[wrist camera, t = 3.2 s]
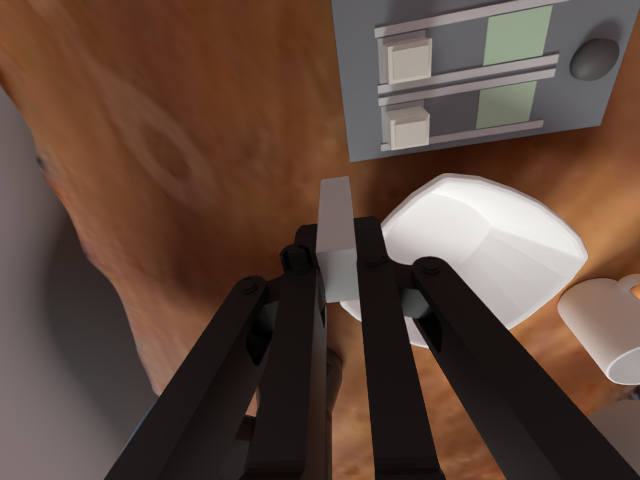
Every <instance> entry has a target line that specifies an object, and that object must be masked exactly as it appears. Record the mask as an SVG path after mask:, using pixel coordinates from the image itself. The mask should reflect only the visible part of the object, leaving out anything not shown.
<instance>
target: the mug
mask: <svg viewBox="0 0 640 480" xmlns="http://www.w3.org/2000/svg"><path fill="white" fill-rule="evenodd" d="M638 284H640V274H631V275H627V276H625V277H623V278H622V279H620V280H619V281H615V280H613V279H607V278H596V279H590V280H586V281H583V282H581V283H578V284H576V285H574V286H573V287H571V288H570V289H568V290H567V291H566V292H565V293H564V294H563V295H562V296H561V298H560V300H559V302H558V306H557V307H558V312H559V314H560V316H561V317H562V319H563V320H564V322H565V323H566V324H567V325H568V327H569V328H570V329H571V331H572V332H573V333H574V335H575V336H576V337H577V338H578V340H579V341H580V342H581V344H582V345H583V346H584V347H585V349H586V350H587V351H588V353H589V354H590V355H591V357H592V358H593V359H594V360H595V362H596V363H597V364H598V366H599V367H600V368H601V369H602V371H603V372H604V373H605V375H606V376H607V377H608V378H609V379H610V380H611V381H613V382H615V383H619V384H625V385H635V384H640V299H639V298H638V297H636V296H635V295H634V294H633V293H632V292H631V291H630V289H631V288H632V287H634V286H635V285H638Z"/></svg>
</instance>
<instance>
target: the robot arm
mask: <svg viewBox="0 0 640 480" xmlns="http://www.w3.org/2000/svg"><path fill="white" fill-rule="evenodd" d="M280 258H281V262H282V265H283V268H284V274H283V275H281V276H280V277H277V278H275V279H272V280H269V281H265V279H264V278H262V277H261V276H249V277H246V278H243V279H242V280H240V281H239V282H238V283H237V284H236V285H235V286H234V287H233V289H232V290H231V292H230V293H229V295H228V296H227V298H226V299H225V301H224V302H223V304H222V305H221V307H220V308H219V309H218V311H217V312H216V314H215V315H214V317H213V318H212V320H211V321H210V323H209V324H208V326H207V327H206V329H205V330H204V332H203V333H202V335H201V336H200V338H199V339H198V341H197V342H196V344H195V345H194V347H193V348H192V350H191V351H190V352H189V354H188V355H187V357H186V358H185V360H184V361H183V363H182V364H181V366H180V367H179V369H178V370H177V372H176V373H175V375H174V376H173V378H172V379H171V381H170V382H169V384H168V385H167V387H166V388H165V390H164V391H163V392H162V394H161V395H160V397H159V399H158V400H157V401H156V402H155V403H154V404H153V405H152V406H151V407H150V408H149V410H148V411H147V413H146V414H145V416H144V417H143V419H142V420H141V421H140V423H139V425H138V426H137V428H136V429H135V431H134V432H133V434H132V436H131V437H130V439H129V440H128V442H127V444H126V445H125V447H124V449H123V450H122V452H121V454H120V455H119V457H118V459H117V461H116V462H115V464H114V465H113V467H112V468H111V470H110V471H109V473H108V474H107V476H106V477H105V479H104V480H332V411H333V408H334V405H335V402H336V398H337V395H338V392H339V389H340V386H341V382H342V364H341V361H340V359H339V357H338V356H337V355H336V354H335V353H334V352H333V351H331V350H330V349H328V348H327V310H326V306H325V297H326V301H327V303H331V302H342V301H352V300H360V310H361V322H362V333H363V344H364V355H365V366H366V377H367V388H368V399H369V410H370V421H371V433H372V444H373V455H374V467H375V480H446V478H445V475H444V473H443V471H442V470H441V468H440V465H439V462H438V458H437V454H436V450H435V446H434V442H433V437H432V433H431V429H430V425H429V420H428V416H427V412H426V408H425V403H424V399H423V395H422V391H421V386H420V382H419V378H418V374H417V369H416V365H415V361H414V357H413V352H412V348H411V344H410V340H409V335H408V331H407V327H406V322H405V318H404V316H405V317H411V318H412V320H413V322H414V324H415V325H416V327H417V329H418V330H419V332H420V334H421V335H422V337H423V339H424V341H425V342H426V344H427V346H428V347H429V349H430V351H431V352H432V354H433V356H434V357H435V359H436V361H437V363H438V364H439V366H440V368H441V369H442V371H443V373H444V374H445V376H446V378H447V379H448V381H449V383H450V384H451V386H452V388H453V390H454V391H455V393H456V395H457V396H458V398H459V400H460V401H461V403H462V405H463V406H464V408H465V410H466V411H467V413H468V415H469V417H470V418H471V420H472V422H473V423H474V425H475V427H476V428H477V430H478V432H479V433H480V435H481V437H482V439H483V440H484V442H485V444H486V445H487V447H488V449H489V450H490V452H491V454H492V455H493V457H494V459H495V460H496V462H497V464H498V466H499V467H500V469H501V471H502V472H503V474H504V476H505V477H506V479H507V480H640V476H639V475H638V474H637V473H636V472H635V471H634V469H633V468H632V467H631V466H630V465H629V464H628V463H627V462H626V461H625V459H624V458H623V457H622V456H621V455H620V454H619V453H618V452H617V451H616V450H615V448H614V447H613V446H612V445H611V444H610V443H609V442H608V441H607V439H606V438H605V437H604V436H603V435H602V434H601V433H600V432H599V431H598V430H597V428H596V427H595V426H594V425H593V424H592V423H591V422H590V421H589V419H588V418H587V417H586V416H585V415H584V414H583V413H582V412H581V411H580V409H579V408H578V407H577V406H576V405H575V404H574V403H573V402H572V401H571V399H570V398H569V397H568V396H567V395H566V394H565V393H564V392H563V390H562V389H561V388H560V387H559V386H558V385H557V384H556V383H555V382H554V380H553V379H552V378H551V377H550V376H549V375H548V374H547V373H546V372H545V370H544V369H543V368H542V367H541V366H540V365H539V364H538V363H537V362H536V360H535V359H534V358H533V357H532V356H531V355H530V354H529V353H528V352H527V350H526V349H525V348H524V347H523V346H522V345H521V344H520V343H519V342H518V340H517V339H516V338H515V337H514V336H513V335H512V334H511V333H510V332H509V330H508V329H507V328H506V327H505V326H504V325H503V324H502V323H501V322H500V320H499V319H498V318H497V317H496V316H495V315H494V314H493V313H492V312H491V310H490V309H489V308H488V307H487V306H486V305H485V304H484V303H483V302H482V300H481V299H480V298H479V297H478V296H477V295H476V294H475V293H474V292H473V290H472V289H471V288H470V287H469V286H468V285H467V284H466V283H465V281H464V280H463V279H462V278H461V277H460V276H459V275H458V274H457V273H456V271H455V270H454V269H453V268H452V267H451V266H450V265H449V264H448V263H447V262H446V261H445V260H443V259H441V258H438V257H433V256H426V257H421V258H419V259H416V260H415V261H414V262H413V264H412V265H407V264H401V263H398V262H395V261H394V260H392V259H391V258H390V257H389V256H388V254H387V250H386V245H385V241H384V237H383V233H382V229H381V224H380V221H379V220H378V219H377V218H376V217H375V216H369V217H361V218H354V216H353V208H352V199H351V191H350V183H349V176H344V177H337V178H330V179H323V180H321V188H320V202H319V215H318V224H310V225H302V226H301V227H300V228H299V229H298V230H297V232H296V235H295V241H294V244H291V245H289V246H287V247H285V248H284V249H283V250H282V251H281V253H280ZM255 391H256V400H257V412H256V417H253V416H250V415H246V414H245V413H246V411H247V409H248V406H249V404H250V402H251V400H252V397H253V395H254V393H255Z"/></svg>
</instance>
